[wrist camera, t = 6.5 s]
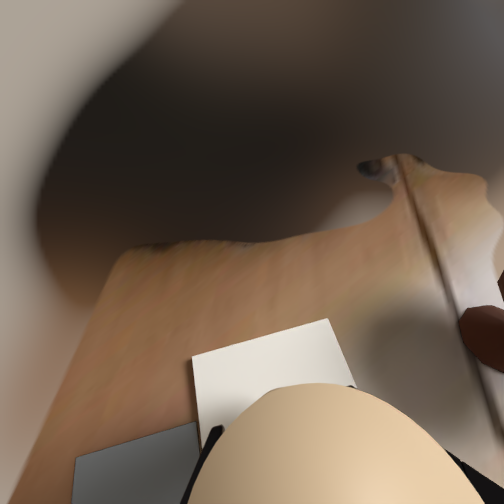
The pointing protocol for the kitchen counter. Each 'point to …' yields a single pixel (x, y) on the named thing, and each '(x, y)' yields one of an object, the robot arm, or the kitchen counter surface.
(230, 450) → the tan tapered rounded piece
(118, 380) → the kitchen counter surface
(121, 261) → the kitchen counter surface
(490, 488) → the robot arm
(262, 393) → the cutting board
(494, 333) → the ice cream bowl
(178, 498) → the mat
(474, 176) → the kitchen counter surface
